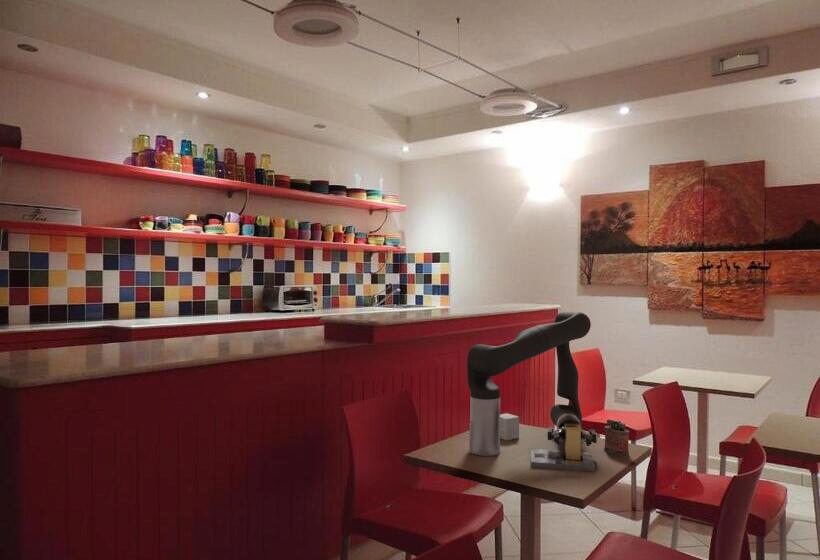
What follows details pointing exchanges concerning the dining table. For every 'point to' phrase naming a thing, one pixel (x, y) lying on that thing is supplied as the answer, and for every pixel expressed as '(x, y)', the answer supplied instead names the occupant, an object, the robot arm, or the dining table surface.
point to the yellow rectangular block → (572, 442)
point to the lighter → (616, 438)
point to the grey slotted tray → (560, 460)
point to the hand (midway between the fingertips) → (573, 441)
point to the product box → (509, 426)
